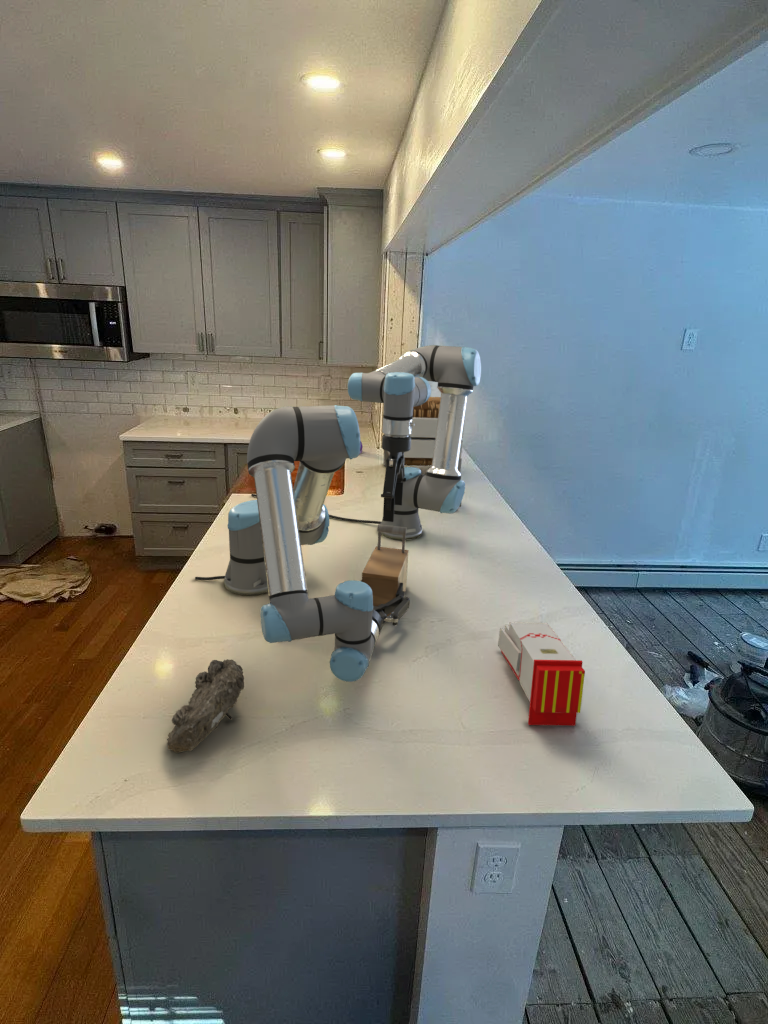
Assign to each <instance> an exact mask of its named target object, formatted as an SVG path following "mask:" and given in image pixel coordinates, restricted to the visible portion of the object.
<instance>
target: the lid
mask: <svg viewBox="0 0 768 1024" xmlns="http://www.w3.org/2000/svg"><path fill="white" fill-rule="evenodd" d="M376 531H377V545H376V546H375V547H374V549H373V551H372V552H371V554H370V557H369V559H368V561H367V562H366V565H365V567H364V568H363V570H362V572H361V577H362V576H364V577H372V578H380V579H388V580H396V581H398V580H399V577H400V575H401V572H402V569H403V567H404V564H405V561H406V559H407V556H408V557H409V553H410V550H409V549H406V540H405V537H406V533H407V527H398V526H389V525H380V524H377V530H376ZM381 532H385V533H394V534H403V540H401V541H402V543H401V548H394V547H385V546H381V544H382V535H381Z"/></svg>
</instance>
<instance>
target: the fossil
mask: <svg viewBox="0 0 768 1024" xmlns="http://www.w3.org/2000/svg"><path fill="white" fill-rule="evenodd" d="M243 670H244V669H243V667H242V665H240V664H237V662H236V661H235V660H234V659H232V658H231V659H227V658H226V659H224V660H223V661H222V660H217V659H212V660H211V661H210V663H209V665H208V666H207V671H201V672H199V673H198V674H197V675H196V676H195V680H194V684H195V685H194V687H195V689H194V690H193V693H192V694H191V697H190V698H189V700H188V704H184V705H182V706H181V707H180V709H177V710H176V711H175V713H174V715H173V716H172V718H171V723H172V724H173V727H172V730H171V731H170V732H168V734H167V738H166V741H167V742H166V745H167V749H168V750H169V751H173V752H174V753H176V754H178V753H182V752H188V751H189V752H192V751H193V750H195V748H196V747H197V746H199V744H200V743H201V742H203V741H204V740H205V739H206V738H207V737H208V736H209V735H210V734H211V733H212V732H214V730H215V729H217V727H218V726H219V724H220V722H221V721H222V720H223V719H224V718H225V716H226V717H227V719H229V720H233V717H232V715H230V714H229V710H230V709H231V708H234V706H235V704H236V703H237V702H238V699H239V697H240V695H241V693H242V691H243V690H245V689H244V688H245V675H244V671H243Z"/></svg>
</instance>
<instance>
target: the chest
mask: <svg viewBox="0 0 768 1024" xmlns="http://www.w3.org/2000/svg"><path fill="white" fill-rule="evenodd" d="M408 565H409V555H408V556H407V559H406V561H405V564H404V567H403V569H402V572H401V575H400V577H399V580H398V581H396V580H388V579H380V578H372V577H364V576H362V575H361V579H362V582H364V583H366V584H368V585H369V586H370V588H371V589H372V595H373V606H379V605H380V604H385V603H387V602H389V601H390V600H392V599H394V598H396V593H397V590H398V588H399V585H400V583H403V591H405V592H406V590H407V581H408ZM390 614H391V613H390ZM390 614H388V615H387V616H389V615H390Z"/></svg>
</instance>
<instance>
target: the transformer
mask: <svg viewBox="0 0 768 1024" xmlns="http://www.w3.org/2000/svg"><path fill="white" fill-rule="evenodd" d="M440 399H441V396H430V397H429V399H428V400H427V401H426V402H425V403H424V404H422V405H419V406H415V407H413V418H412V422H411V423H414V427H412V431H411V434H410V436H411V449H410V450H409V451H407V452H404V466H406V467H417V466H418V467H431V466H432V461H433V453H434V446H435V438H436V430H437V422H438V415H439V407H440ZM464 422H465V419H464ZM464 429H465V423H464V424H463V432H462V439H463V438H464V431H465V430H464ZM462 439H461V446H460V453H459V460H458V471H459V472H460V474H461V475H462V473H461V472H462V461H463V460H462V453H463V442H464V441H463V440H462ZM389 455H390V452H389V451H385V450H383V466H384V467H386V460H387V457H389Z"/></svg>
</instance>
